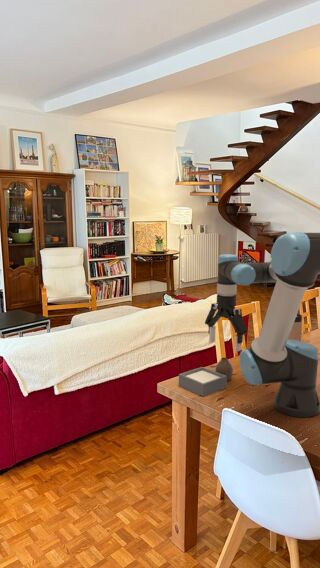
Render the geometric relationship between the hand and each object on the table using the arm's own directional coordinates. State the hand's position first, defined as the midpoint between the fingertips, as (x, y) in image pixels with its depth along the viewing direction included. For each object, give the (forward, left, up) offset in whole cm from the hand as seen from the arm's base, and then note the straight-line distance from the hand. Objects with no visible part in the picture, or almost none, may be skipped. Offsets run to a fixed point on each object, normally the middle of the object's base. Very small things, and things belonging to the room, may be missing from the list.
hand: (224, 346), depth 173 cm
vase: (0, 0, -14) cm, 14 cm away
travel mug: (+18, -42, -14) cm, 48 cm away
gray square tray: (-5, +11, -14) cm, 18 cm away
